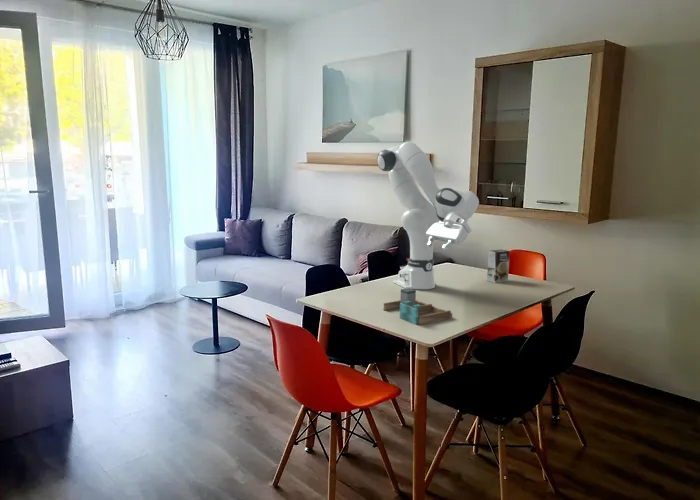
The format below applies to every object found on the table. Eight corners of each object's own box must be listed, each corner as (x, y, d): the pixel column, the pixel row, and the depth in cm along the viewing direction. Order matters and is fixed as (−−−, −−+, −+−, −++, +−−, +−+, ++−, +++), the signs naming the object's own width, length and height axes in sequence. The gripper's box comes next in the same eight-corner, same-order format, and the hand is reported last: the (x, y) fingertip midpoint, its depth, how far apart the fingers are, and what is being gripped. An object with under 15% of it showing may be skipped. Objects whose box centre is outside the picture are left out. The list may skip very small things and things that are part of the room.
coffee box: (495, 283, 266) (496, 252, 263) (486, 280, 271) (488, 250, 268) (508, 281, 270) (510, 250, 267) (499, 278, 275) (501, 248, 273)
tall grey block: (400, 310, 217) (400, 289, 216) (408, 308, 219) (409, 288, 218) (406, 313, 214) (407, 291, 212) (415, 311, 216) (415, 290, 214)
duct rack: (381, 310, 217) (382, 294, 215) (415, 304, 226) (415, 289, 225) (417, 325, 198) (418, 308, 196) (452, 317, 207) (452, 301, 206)
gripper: (433, 216, 230) (416, 239, 227) (467, 220, 213) (448, 246, 210) (440, 225, 233) (423, 248, 230) (474, 230, 217) (456, 256, 213)
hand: (435, 247), depth 220 cm, fingers open, 8 cm apart
